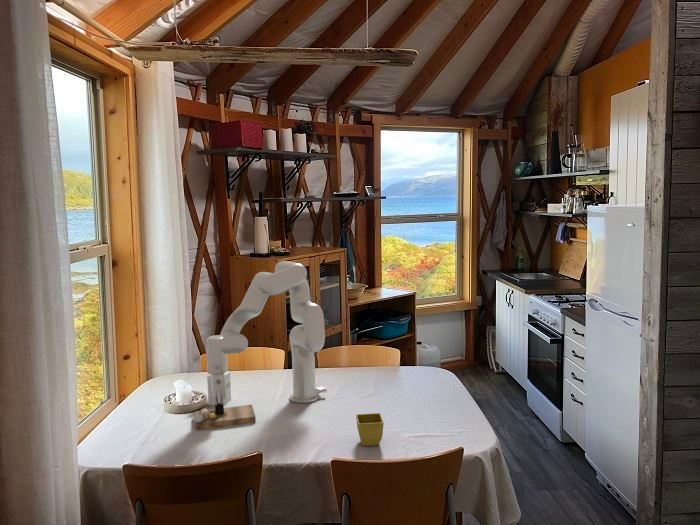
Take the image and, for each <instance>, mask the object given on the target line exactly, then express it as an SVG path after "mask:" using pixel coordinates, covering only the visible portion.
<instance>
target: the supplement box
mask: <svg viewBox="0 0 700 525" xmlns="http://www.w3.org/2000/svg"><path fill="white" fill-rule="evenodd" d="M206 378H207V381H206V382H207V396H208V398H207V400H208V405H209V406H215V400H214V398H213V393H212V385H211V374H208V375H207V376H206ZM225 379H226V396H227V398H226V399H225V398H223V405H224V406H226V405H227V404H228V403H229V402H230V401H231V400H232V387H231V386H232V385H231V371H227V372H226V373H225Z"/></svg>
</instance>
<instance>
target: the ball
mask: <svg viewBox="0 0 700 525" xmlns="http://www.w3.org/2000/svg"><path fill="white" fill-rule="evenodd" d="M216 417H217V415H215V413H212V414H210V416H209V418H216Z"/></svg>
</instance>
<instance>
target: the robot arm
mask: <svg viewBox="0 0 700 525" xmlns="http://www.w3.org/2000/svg"><path fill="white" fill-rule="evenodd" d="M307 276H308V271H307V268H306V266H304V265H303V264H302V263H297V262H292V261H287V260H286V261H285V260H283V261H282V260H281V261H279V262H277V264H276V265H275V267H274V272H270V271H269V272H267V271H260V272H258V273H255V276H254V277H253V278H252V281H251V283H250V285H249V287H248V289H247V290H246V293H245V295H244V297H243V299H242V301H241V303H240V305H239V306H237V308H236V309H235V310H234V311H233V312H232V313H231V314H230V315H229V316H228V318H227V319H226V321H225V323H224V325H223V328H222V329H221V331H220V334H217V335H215V334H214V335H210V336H208V337H207V338H206V339H205V352H206V354H205V355H206V369H207V371H206V372H207V374H208V375H210V374H211V385H212V393H213V398H214V400H215V405H214V409H215V415H222V414H224V408H225V407H224V405H223V398H225V399H226V398H227V396H226V379H225V373H226V372H228V355H230V354H232V355H233V354H241V353H243V352H245V351H246V350H247V348H248V346H249V341H248V339H247V337H246V336H245V335H244V334H241V333H240V332H241V330H242V328H243V327H244V326H245V324H246V323H248V321H249V320H251V319H254V318H256V317H257V316H259V315H260V314H261V313H262V311H263V310H264V306H265V305H266V303H267V300H268V298H269V296H276V295H280V294H283V293H284V292H287V291H288V292H289V301H290V302H289V303H290V315H291V319H292V320H293V321H294V322H295V323H298V324H299V325H295V326H294V327H292V329H291V330H290V333H289V335H288V336H289V338H288V339H289V344H290V351H291V359H292V360H291V361H292V362H291V365H292V390H293V392H292V393H291V394H290V395H289V400H290V401H291V402H294V403H296V404H297V403H299V404H308V403H313V402H316V401H318V400H319V398H320V393H327V387H323V386H318V387H317V386H316V365H315V364H316V363H315V362H316V360H315V353H317V352H320V351H321V350H322V349H323V347H324V345H325V340H326V338H325V336H326V334H325V332H326V331H325V317H324V316H325V315H324V311H323V309H322V308H321V306H319V304H317V303H315V302H312V301H311V300H312V298H311V290H310V285H309V281H308V280H307Z"/></svg>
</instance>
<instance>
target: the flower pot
mask: <svg viewBox="0 0 700 525" xmlns="http://www.w3.org/2000/svg"><path fill="white" fill-rule="evenodd" d="M355 419H356V427H357V432H358V435H359V436H358V437H359V439H360V442H361V444H362V445H363V447H371V446H379V444H380V443H381V441H382V438H383V435H384V434H383V433H384V423H385V422H384V420H383V417H382V415H381V413H380V412H378V413H377V412H376V413H357V414H355Z"/></svg>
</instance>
